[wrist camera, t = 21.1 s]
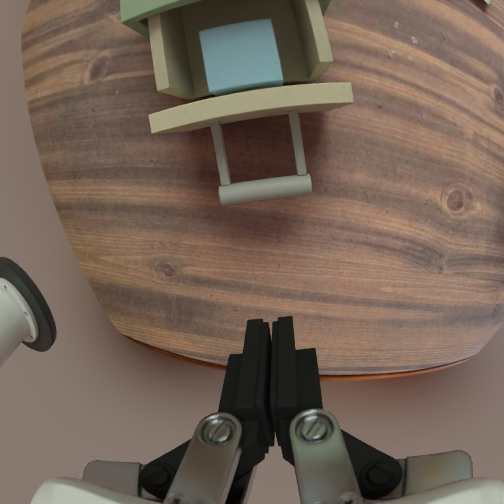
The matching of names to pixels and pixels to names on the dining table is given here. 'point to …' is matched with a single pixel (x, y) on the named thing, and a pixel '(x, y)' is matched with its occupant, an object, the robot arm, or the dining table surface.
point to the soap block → (241, 57)
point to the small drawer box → (159, 11)
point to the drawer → (250, 102)
